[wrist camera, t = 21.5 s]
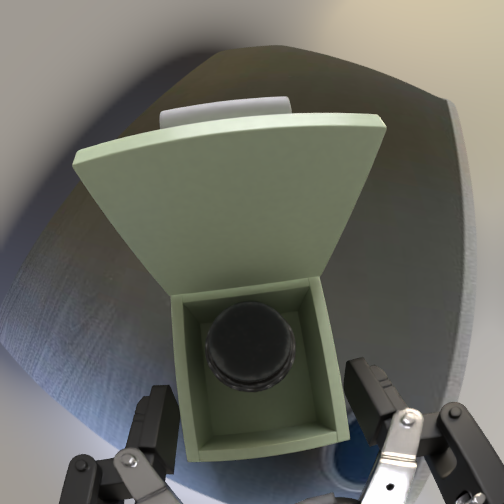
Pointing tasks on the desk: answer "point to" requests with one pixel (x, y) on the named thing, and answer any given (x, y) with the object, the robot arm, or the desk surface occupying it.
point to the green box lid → (233, 191)
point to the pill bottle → (250, 347)
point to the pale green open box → (267, 401)
